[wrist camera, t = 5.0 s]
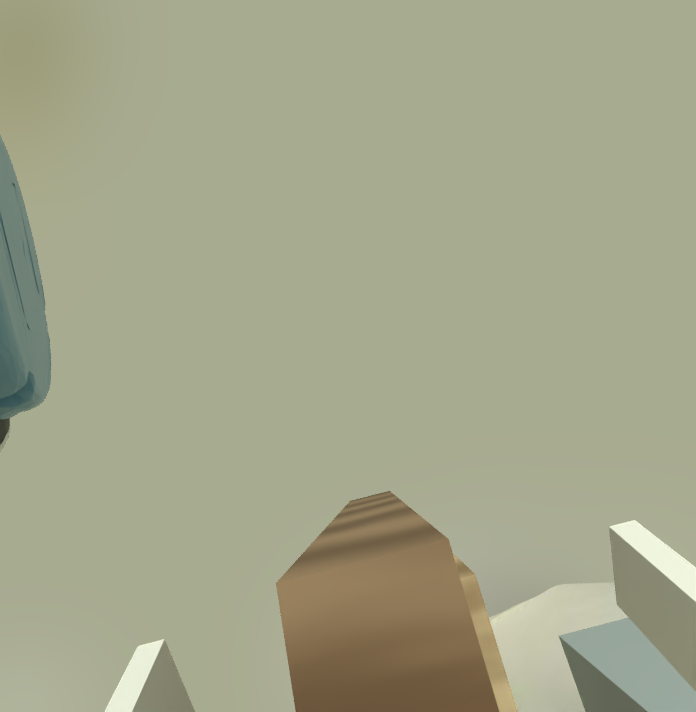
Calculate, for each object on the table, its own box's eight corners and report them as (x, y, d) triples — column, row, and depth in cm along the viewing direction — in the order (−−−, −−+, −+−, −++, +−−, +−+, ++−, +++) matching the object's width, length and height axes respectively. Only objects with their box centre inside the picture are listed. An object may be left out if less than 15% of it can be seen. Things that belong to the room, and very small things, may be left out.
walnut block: (514, 763, 7) (448, 539, 8) (312, 817, 7) (276, 583, 8) (400, 534, 36) (389, 490, 37) (360, 544, 36) (350, 501, 37)
